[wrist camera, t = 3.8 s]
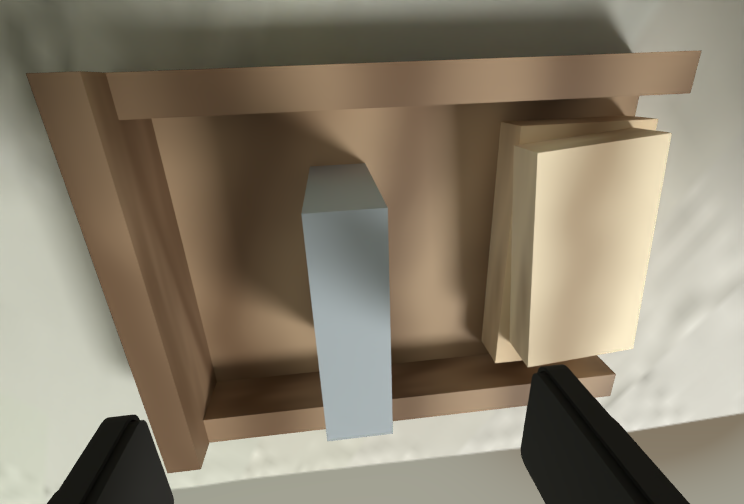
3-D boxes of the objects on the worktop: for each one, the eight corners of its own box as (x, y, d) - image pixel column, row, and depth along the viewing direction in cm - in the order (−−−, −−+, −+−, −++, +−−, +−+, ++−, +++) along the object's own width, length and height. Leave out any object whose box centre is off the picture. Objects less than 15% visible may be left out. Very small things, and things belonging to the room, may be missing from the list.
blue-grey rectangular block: (365, 163, 18) (387, 207, 11) (372, 329, 21) (392, 433, 15) (309, 166, 18) (301, 213, 11) (326, 333, 21) (327, 441, 15)
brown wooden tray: (635, 56, 18) (739, 47, 14) (573, 355, 25) (629, 417, 20) (110, 76, 16) (25, 73, 12) (198, 395, 23) (167, 473, 18)
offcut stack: (624, 115, 18) (699, 123, 15) (580, 330, 23) (628, 377, 19) (496, 122, 18) (540, 131, 14) (477, 340, 23) (507, 390, 19)
